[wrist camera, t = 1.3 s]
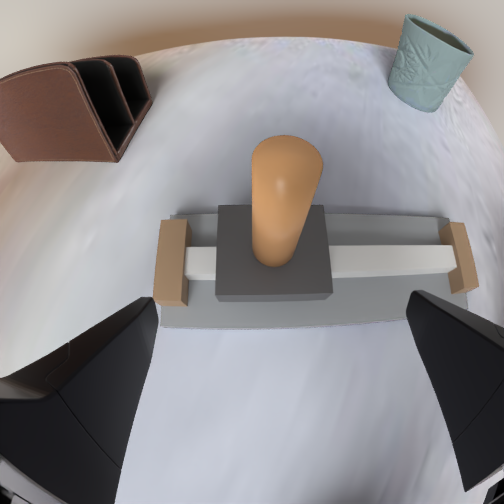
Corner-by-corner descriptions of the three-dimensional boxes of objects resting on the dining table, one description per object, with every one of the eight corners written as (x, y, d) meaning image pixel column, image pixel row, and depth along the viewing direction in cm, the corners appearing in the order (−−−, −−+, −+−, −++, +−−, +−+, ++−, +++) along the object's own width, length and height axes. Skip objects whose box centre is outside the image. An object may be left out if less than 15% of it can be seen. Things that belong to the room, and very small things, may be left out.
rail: (164, 327, 20) (151, 322, 18) (173, 220, 24) (163, 202, 21) (461, 310, 20) (481, 303, 18) (443, 222, 24) (459, 208, 21)
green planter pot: (372, 82, 32) (393, 14, 21) (399, 68, 34) (419, 13, 23) (430, 125, 29) (467, 59, 18) (449, 104, 32) (478, 50, 20)
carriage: (218, 301, 18) (182, 236, 9) (221, 219, 20) (199, 110, 11) (325, 299, 18) (394, 235, 9) (317, 219, 20) (358, 114, 11)
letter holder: (119, 164, 26) (63, 57, 13) (16, 163, 28) (-35, 100, 15) (154, 103, 30) (126, 7, 17) (49, 113, 31) (13, 49, 18)
